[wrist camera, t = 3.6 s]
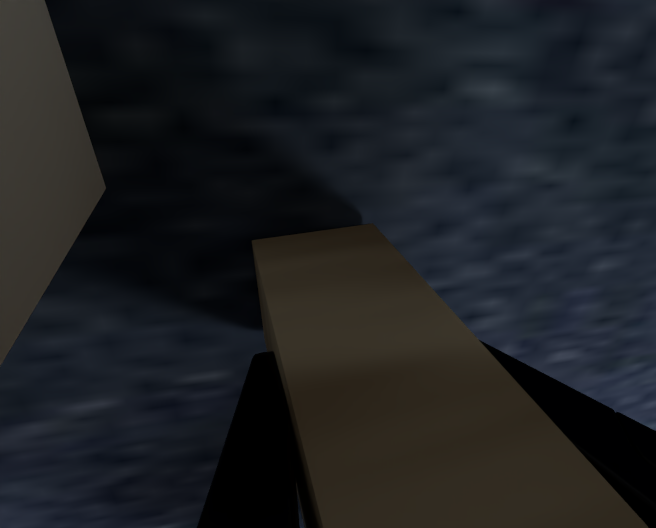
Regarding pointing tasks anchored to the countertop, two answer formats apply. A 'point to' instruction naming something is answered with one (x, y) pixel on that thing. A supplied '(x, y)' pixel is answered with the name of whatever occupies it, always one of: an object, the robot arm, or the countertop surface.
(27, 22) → the tile
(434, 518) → the stick
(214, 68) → the countertop surface
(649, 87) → the countertop surface
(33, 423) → the countertop surface
